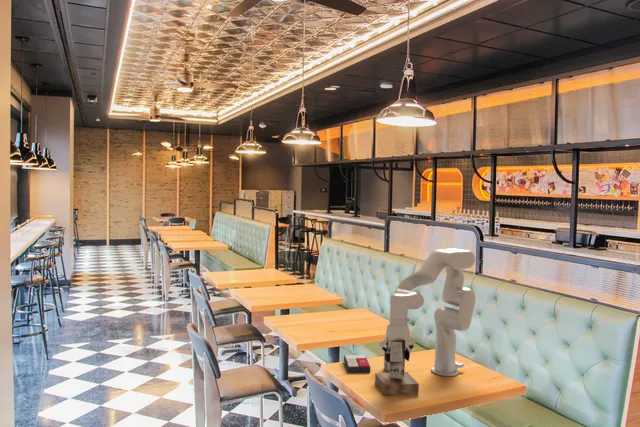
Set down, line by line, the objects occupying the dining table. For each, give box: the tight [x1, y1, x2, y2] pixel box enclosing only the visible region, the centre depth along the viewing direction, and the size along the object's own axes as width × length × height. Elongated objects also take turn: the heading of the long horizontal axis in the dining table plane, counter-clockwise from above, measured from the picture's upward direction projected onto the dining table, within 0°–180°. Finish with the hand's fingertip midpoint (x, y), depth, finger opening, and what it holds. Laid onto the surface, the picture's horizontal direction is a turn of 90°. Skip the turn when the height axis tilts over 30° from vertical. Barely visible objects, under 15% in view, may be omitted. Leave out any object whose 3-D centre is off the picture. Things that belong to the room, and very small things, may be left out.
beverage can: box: [383, 350, 390, 373], centre depth 235 cm, size 9×8×12 cm
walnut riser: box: [374, 371, 420, 397], centre depth 212 cm, size 15×14×5 cm
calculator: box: [343, 354, 371, 374], centre depth 237 cm, size 11×4×15 cm
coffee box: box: [389, 340, 406, 379], centre depth 212 cm, size 9×6×16 cm
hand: (397, 360), depth 212 cm, fingers closed on coffee box, 8 cm apart
